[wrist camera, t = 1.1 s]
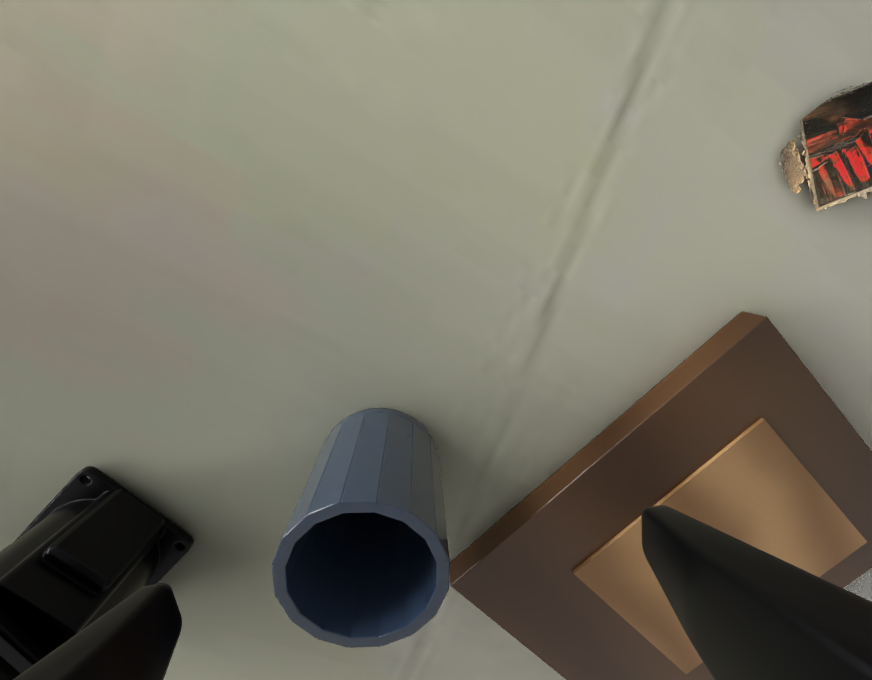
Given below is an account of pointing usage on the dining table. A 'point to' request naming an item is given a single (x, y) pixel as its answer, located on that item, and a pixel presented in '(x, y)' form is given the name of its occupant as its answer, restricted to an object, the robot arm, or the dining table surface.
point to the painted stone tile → (835, 149)
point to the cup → (367, 535)
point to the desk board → (676, 508)
